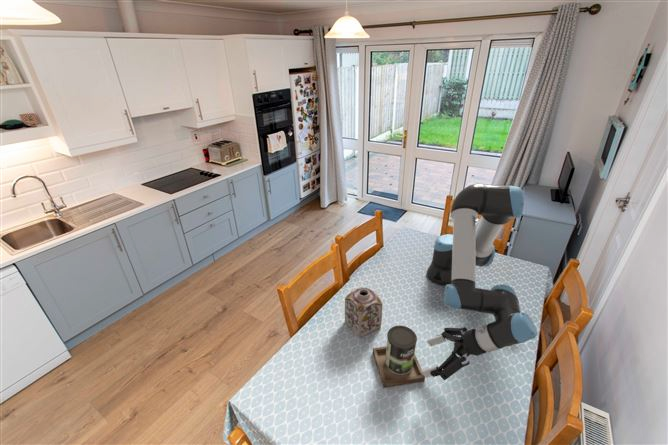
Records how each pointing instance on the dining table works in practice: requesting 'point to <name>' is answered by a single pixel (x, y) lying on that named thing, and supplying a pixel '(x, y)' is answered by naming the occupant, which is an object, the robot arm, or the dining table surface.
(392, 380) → the holder tray
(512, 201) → the robot arm
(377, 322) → the decorative jar
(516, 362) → the dining table surface
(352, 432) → the dining table surface
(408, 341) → the coffee can
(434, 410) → the dining table surface
